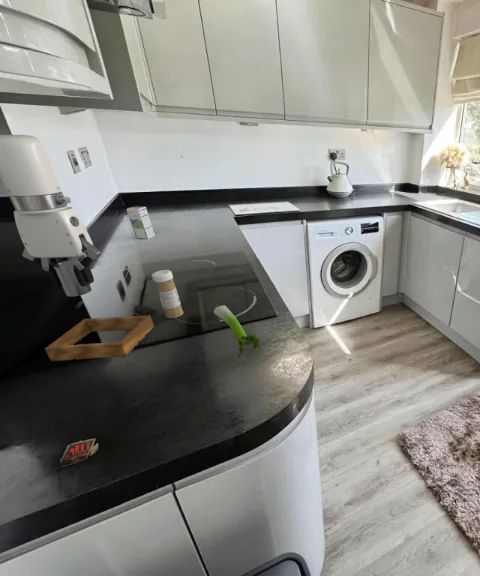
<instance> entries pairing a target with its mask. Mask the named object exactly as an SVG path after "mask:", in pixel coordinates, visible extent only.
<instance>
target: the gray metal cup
mask: <svg viewBox="0 0 480 576" xmlns="http://www.w3.org/2000/svg"><path fill="white" fill-rule="evenodd" d="M53 267H54V269H55V271H56V274H57V276H58V278H59V280H60V282H61V285H62V286H61V288H62V289H63V292H64V294H65V296H66V297H71V298H72V297H73V298H74V297H80V296H84V295H86V294H88V293H90V292H92V290H93V289H92V287H91V284H89V285H88V286H86V287H83V286H81V283H80V281H79V279H78V276H77V274H76V270H78V269H77V267H76V266H75V264H74V263H73V262H72V260H71V259H70V260H63V261H60V262H58V263H57V264H55V265H54V266H53Z"/></svg>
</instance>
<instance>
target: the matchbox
mask: <svg viewBox="0 0 480 576" xmlns="http://www.w3.org/2000/svg"><path fill="white" fill-rule="evenodd" d="M95 441H96V438H95V437H94V438H91V439H86V440H79V441H78V442H73V443H71V444H68V445H67V446H66V449H65V450H64V453H63V455H62V457H61V458H60V461H59V463H60V464H59V468H62V467H63V468H64V467H68V466H71V465H75V464H78V463H80V462H83V461H85V460H87V459H88V458H89V456H93V455H94V454H96V453H97V451H98V450H99V443H98V442H97V443H96V444H95Z"/></svg>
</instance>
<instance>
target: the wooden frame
mask: <svg viewBox="0 0 480 576" xmlns="http://www.w3.org/2000/svg"><path fill="white" fill-rule="evenodd" d="M154 327H155V325H154V322H153V319H152V317H151V315H134V316H131V315H130V316H113V317H112V316H111V317H98V318H97V317H94V318H93V317H92V318H83V319H82V320H81V321H80V322H78V323H77V324H75V325H74V326H72V327H71V328H70V329H69V330H68V331H66V332H65V333H64V334H62V335H61V336H60V337H58V338H57V339H56V340H54V341H53V342H52V343H50V344H49V345H48V346H46V347H45V348H44V351H45V352H46V354H47V356H48V358H49V359H50V361H51V362H58V361H59V362H60V361H74V360H73V359H76V360H87V359H90V360H91V359H104V358H119V357H127V356H128V355H129V354H130V353H131V352H132V351H133V350H134V349H135V348H136V347H137V346H138V345H139V343H140V342H141V341H142V340H143V339H144V338H145V337H146V336H147V335H148V334H149V333H150V332H151V330H153V328H154ZM128 329H129V330H130V331H129V332H128V333H127V334H126V335H125V336H124V337H122V339H121V340H120V341H115V342H99V343H81V344H76V345H74V344H75V343H76V342H78V341H79V340H80V341H82V340H83V339H84V338H85V337H87V336H88V335H89V334H90V333H91V332H93V333H94V332H111V331H125V330H127V331H128ZM147 333H148V334H147ZM87 334H88V335H87ZM146 334H147V335H146ZM145 335H146V336H145ZM83 337H84V338H83ZM82 338H83V339H82ZM81 339H82V340H81ZM80 341H79V342H80ZM139 341H140V342H139ZM79 342H78V343H79ZM138 342H139V343H138ZM135 346H136V347H135ZM134 347H135V348H134Z"/></svg>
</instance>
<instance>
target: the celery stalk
mask: <svg viewBox="0 0 480 576" xmlns="http://www.w3.org/2000/svg"><path fill="white" fill-rule="evenodd" d="M213 314H214V315H215V316H217V317H218V318H220V319H221V320H223V322H225V323H226V324H227V325H228V327H229V328H230V330H231V331H232V332H233V333H234V336H235V338H236V340H237V343H238V351H239V352H238V355H237V360H239V359H240V357H241V356H242V358H243V359H244V360H245V361H246V362H248V360H247V359H246V357H245V355H244V354H243V352H244V350H245V349H244V348H246V347H248V346H250V345H252V348H253V349H254V350H258V351H260V352H261V353H263V351H262V349H261V346H260V343H259V341H261V340H260V339H259V338H260V337H259V336H257V335H256V334H253V333H252V332H251V333H250V334H247V333H246V332H245V330H244V328H243V326H242V325H241V323H240V322H239V320H238V318H237V317H236V316H235V315H234V314H233V312H232V311H231V310H230V309H229V308H228V307H227V306H226V305H219V306H216V307H215V308H214V311H213Z"/></svg>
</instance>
